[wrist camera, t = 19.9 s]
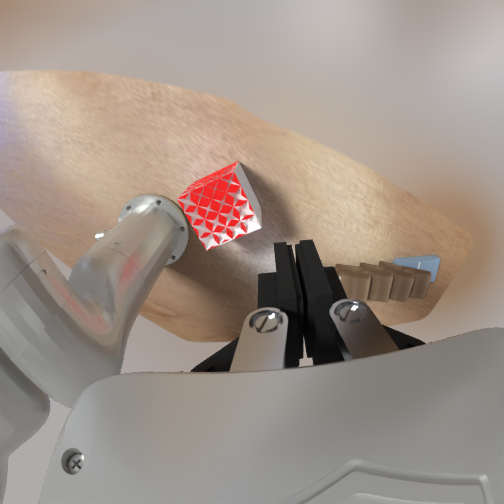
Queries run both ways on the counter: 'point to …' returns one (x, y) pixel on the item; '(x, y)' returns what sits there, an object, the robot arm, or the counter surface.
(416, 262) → the domino
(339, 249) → the counter surface
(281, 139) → the counter surface
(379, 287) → the domino
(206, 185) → the red patterned cube
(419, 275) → the domino
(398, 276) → the domino
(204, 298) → the counter surface
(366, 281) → the domino
